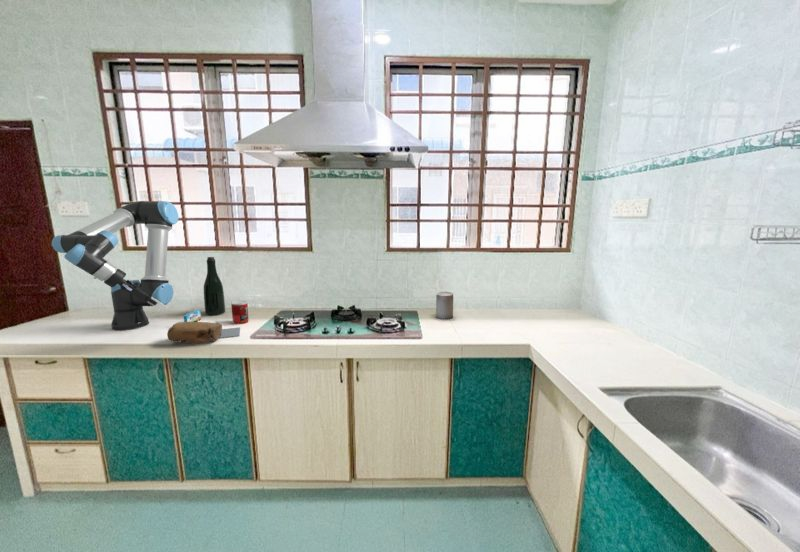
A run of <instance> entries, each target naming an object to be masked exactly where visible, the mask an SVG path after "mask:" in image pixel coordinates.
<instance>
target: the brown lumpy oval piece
mask: <svg viewBox="0 0 800 552" xmlns="http://www.w3.org/2000/svg"><path fill="white" fill-rule="evenodd" d="M222 329H223V326H222V324H221V323H217V322H205V321H199V322H184V321H181V322H180V321H179V322H176V323H174V324H173V325H171V326H170V328H168V330H167V339H168V340H169V342H170V341H171V342H178V343H180V342H181V341H184V342H186V343H191V344H192V343H193V344H205V343H207V344H208V343H211V342H215V341H217V340H219V339H218V338H220V337H221V335H222V333H221V331H222ZM220 339H221V338H220Z"/></svg>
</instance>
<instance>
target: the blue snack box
mask: <svg viewBox="0 0 800 552" xmlns="http://www.w3.org/2000/svg"><path fill="white" fill-rule="evenodd" d="M200 320H201V321H202V315H201V309H195V310H193V311H191V312H188V313H186V314H185V315H183V322H198V321H199V322H201V321H200Z"/></svg>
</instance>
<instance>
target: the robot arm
mask: <svg viewBox="0 0 800 552" xmlns="http://www.w3.org/2000/svg"><path fill="white" fill-rule="evenodd" d="M178 221H179V213H178V210H177V208H176V206H175V205H174V204H173V203H171V202H170V201H166V200H158V201H157V200H155V201H154V200H138V201H134V202H131V203H128V204H125V205H123V206H121V207H118V208H116V209H115V210H113V213H111V214H109V215H107V216H105V217H103V218H100V219H99V220H97V221H94V222H92V223H90V224H88V225H86V226H84V227H82V228H80V229H78V230H76V231H74V232H72V233H69V234H61V235H60V234H59V235H56V236H54V237H53V239H52V240H51V246H52V248H53V250H54V251H56V252H57V253H60V254H61V253H63V254H64V256H63V257H64V259H65V260H67V261H68V263H71V264H72V265H73V266H76V267H77V268H79V269H80V270H82V271H84V272H85V273H87V274H89V275H91V276H93V279H94V280H99V281H100V282H103V283H104V284H106V285H107V286H109V287H110V294H111V301H112V306H113V317H112V321H111V325H110V326H111V329H112V330H114V331H123V330H124V331H127V330H133V329H138V328H142V327H145V326H147V325H149V323H150V321H149V317H148V315H147V314H146V312H145V311H144V307H154V308H155V309H157V310H159V311H162V310H163V309H164V308H165V306H167V305H168V304H169V303H170V302H171V300H172V299H173V296H174V288H173V285H172V284H170V282H169V279H168V278H167V277H166V270H167V260H168V259H167V258H168V245H169V244H168V242H169V232H170V231H171V230H172V229H173V225H176V224H177V223H178ZM143 224H144V227H146V228H147V242H146V256H145V265H144V266H145V267H144V268H145V269H144V276H143V277H142V278H140V280H139V279H131V280H129V279H124V278H125V277H126V275H127V273H126V272H125V271H123V270H121V269H119V268H117V266H116V265H114V264H113V263H112V262H109V261H108V260H106V259H104V258H105V257H106V256H107V255H108V254H109V253H110V252H112V250H113V249H115V248H116V246H117V245H118V243H119V239H118V237H117V235H116V234H115V233H116V232H118V231H120V230H122V229H124V228H125V227H126V228H127V227H129V228H130V227H132V226H134V225H143Z"/></svg>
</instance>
